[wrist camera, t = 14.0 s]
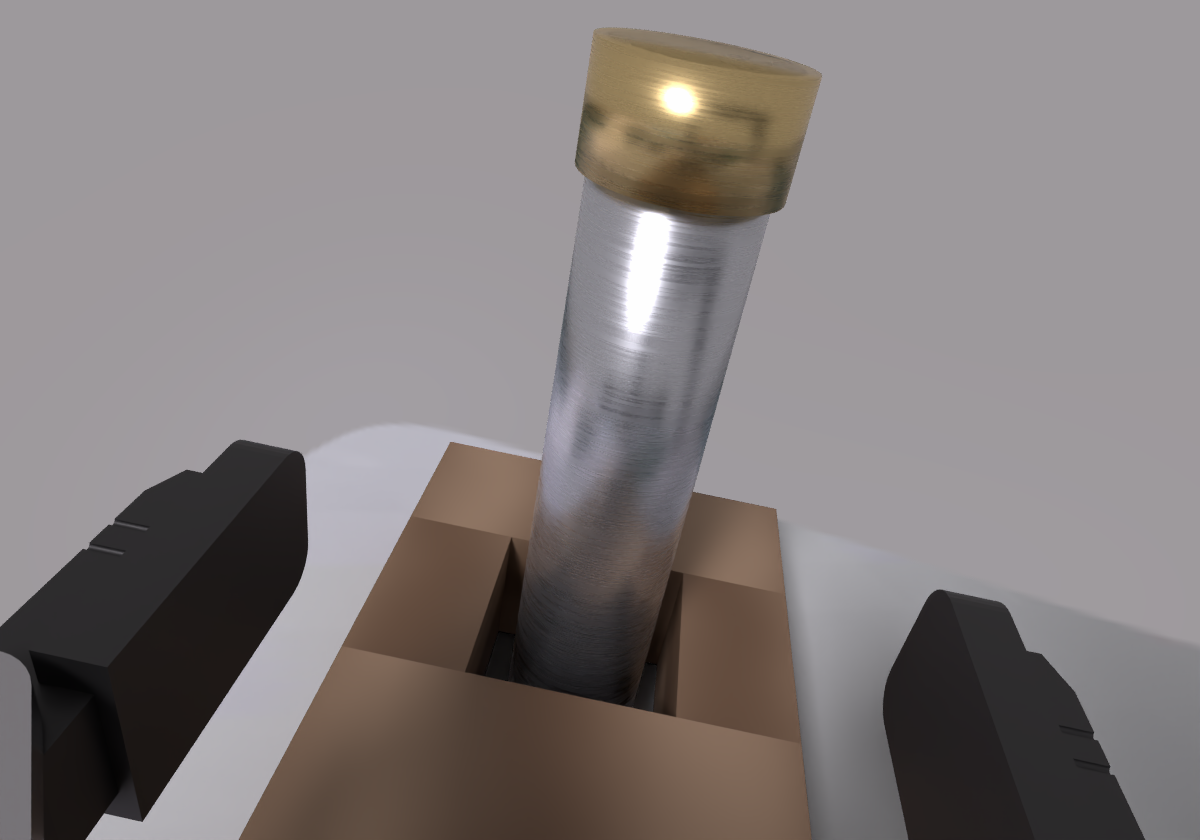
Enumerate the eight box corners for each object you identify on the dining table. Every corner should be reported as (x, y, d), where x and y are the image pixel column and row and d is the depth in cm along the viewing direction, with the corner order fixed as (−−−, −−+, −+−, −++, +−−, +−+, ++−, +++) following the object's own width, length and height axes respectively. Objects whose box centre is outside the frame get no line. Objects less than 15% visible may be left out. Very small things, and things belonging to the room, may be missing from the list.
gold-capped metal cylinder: (638, 677, 22) (809, 59, 14) (626, 794, 19) (835, 91, 11) (512, 650, 22) (607, 20, 14) (479, 762, 19) (578, 42, 11)
